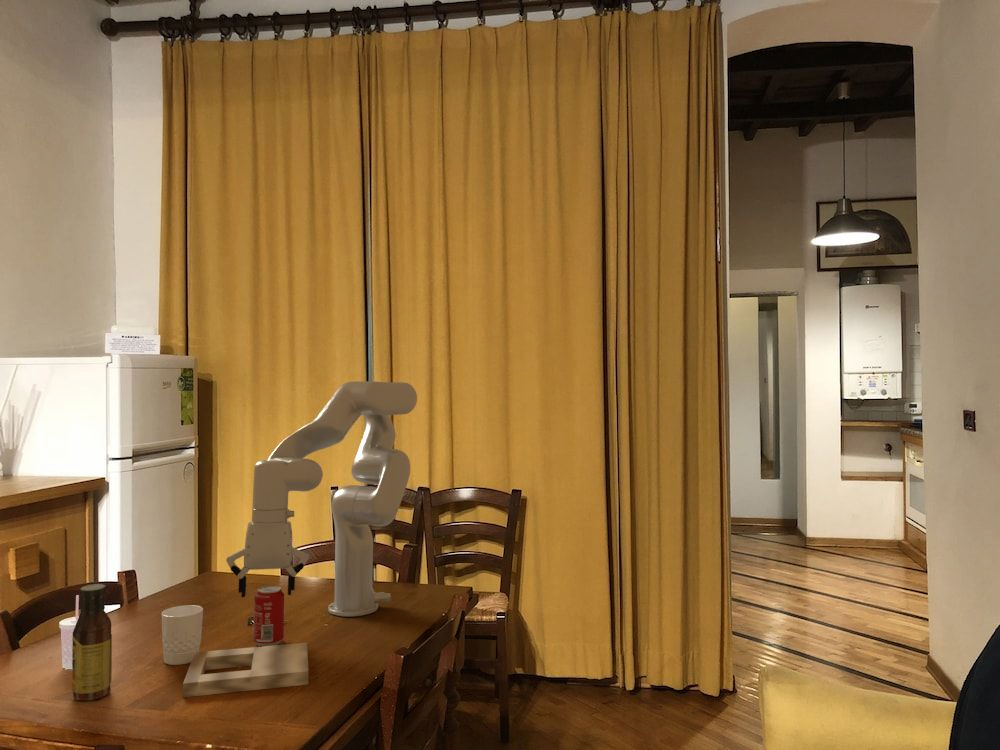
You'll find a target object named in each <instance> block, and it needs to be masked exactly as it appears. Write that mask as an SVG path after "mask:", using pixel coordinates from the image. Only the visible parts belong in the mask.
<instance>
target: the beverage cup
mask: <svg viewBox="0 0 1000 750" xmlns="http://www.w3.org/2000/svg"><path fill="white" fill-rule="evenodd" d="M79 601H80V594H77V595H75V616H73V617H68V618H65V619H62V620H60V621H59V623H58V624H59V625H58V626H59V629H60V636H61V659H62V660H61V663H62V664H61V666H62V669H63V668H65V669H64V670H67V669H72V649H73V648H72V647H73V640H72V637H73V631H74V628H75V625H76V623H77V620H78V618H79Z"/></svg>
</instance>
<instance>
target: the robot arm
mask: <svg viewBox="0 0 1000 750" xmlns="http://www.w3.org/2000/svg"><path fill="white" fill-rule="evenodd" d="M417 403H418V394H417V391H416V389H415V388H414V386H413V385H412V384H410V383H408V382H403V381H402V382H389V381H388V382H386V381H374V380H373V381H365V380H364V381H355V380H354V381H347V382H345V383H343V384H341V385H340V386H339V387H338V389H336V390H335V392H334V394H333V395H332V396H331V398H330V399H329V400H328V402H327V403H326V404H325V406H324V407H323V408H322V409H321V411H320V412H319V414H318V415H317V416H316V418H314V419H313V420H312V421H311V422H309V423H306V424H305V425H304V426H302V427H301V428H299V429H297V430H296V431H295V432H293V433H292V434H290V435H288V436H287V437H286V438H284V439H283V440H282V441H281V442H280V443H279V444H278V446H277V447H276V448H274V451H273V452H272V453H271V454H270V456H269V457H268V458H267V459H265V460H259V461H258V462H256V463H255V465H254V467H253V488H252V489H253V490H252V509H251V521H249V522H248V524H247V528H246V533H245V540H244V548H243V549H240V550H238V551H237V552H235V553H233V554H230V555H229V556H227V557H226V560H225V561H226V563H227V565H228V567H229V568H230V571H231V572H232V573H233V574H234V575H235V576H236V577H237V578H238V590H237V591H238V594H240V593H241V598H245V597H246V593H247V576H246V575H247V574H248V572H249V571H251V570H252V571H253V570H278V569H280V570H282V569H285V570H286V571H287V572H288V575H287V576H288V577H287V578H288V579H287V581H288V582H287V595H288V596H292V591H295V589H296V588H295V585H296V576H297V575H298V573H300V572H301V571H302V570H303V569H304V567H305V566H306V563H307V562H308V560H309V557H310V556H309V553H306V552H304V551H302V550H300V549H298V548H295V547H293V527H292V522H291V521H289V520H288V519H290V518H294V517H295V510H290V509H289V492H305V493H306V492H310V491H312V490H315V489H316V488H317V487H318V486H319V485H320V484H321V482H322V481H323V477H324V476H323V475H324V472H323V469H322V467H321V465H320V464H319V463H318V462H317V461H315V460H313V459H310V458H306V457H307V456H309V455H311V454H313V453H315V452H318V451H320V450H324V449H328V448H330V447H333V446H336V445H337V444H339V443H341V442H342V441H344V440H345V438H346V436H347V435H348V434H349V433H350V430H351V429H352V427H354V425H355V423H356V422H357V421H358V419H360V417H361V416H363V420H364V431H363V435H362V438H361V441H360V443H359V446H358V448H357V451H356V453H355V456H354V459H353V461H352V465H351V468H350V469H351V470H350V471H351V475H352V478H353V479H354V480H355V481H357V482H359V483H363V484H368V485H377V486H376V487H375V486H368V485H358V484H357V485H355V484H349V485H345V486H342V487H340V488H339V489H337V490H336V491H335V493H334V494H333V497H332V500H331V513H332V519H333V524H334V534H335V535H334V536H335V537H334V538H335V540H334V542H335V543H334V546H335V548H334V553H335V554H334V601H333V602H331V603H329V604H328V605H327V606H328V607H327V611H328V612H329V614H331V615H333V616H334V615H335V616H337V617H347V618H348V617H361V616H366V615H370V614H373V613H374V612H377V611H378V609H379V602H391V599H392V598H391V597H392V595H391V592H390V593H389V592H388V593H387V592H386V593H385V592H384V591H380V592H376V591H375V590H374V587H373V576H374V575H373V568H374V567H373V563H374V561H373V559H374V558H373V557H374V553H373V552H374V537H373V533H372V530H371V528H370V526H373V527H385V526H388V525H390V524H391V523H392V522H393V521H394V520H395V518H396V516H397V514H398V511H399V508H400V507H401V503H402V500H403V499H404V498H403V497H404V495H405V491H406V489H407V486H408V482H409V479H410V474H411V461H410V458H409V456H408V455H407V454H406V452H404V451H403V450H401V449H397V448H394V445H395V444H394V443H395V441H396V437H397V436H396V435H397V434H396V429H395V426H394V424H393V422H392V419H391V417H390V416H398V415H402V416H403V415H407V414H410V413H411V412H413V410H414V409H415V407H416V406H417ZM293 556H295V557H297V558H300V561H299V562H298V563H297V565H295V566H293V565H292V561H293ZM242 557H243V566H242V568H240V567H239V566H238V565H237V564H236V562H235V561H236V560H238V559H241V558H242Z"/></svg>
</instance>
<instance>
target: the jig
mask: <svg viewBox="0 0 1000 750" xmlns="http://www.w3.org/2000/svg"><path fill="white" fill-rule="evenodd" d="M308 654H309V653H308V642H300V643H299V642H296V643H287V644H286V643H285V644H278V645H274V646H262V647H260V646H254V647H253V646H252V647H242V648H230V649H229V648H228V649H217V650H207V651H199V652H195V653H194V656H193V659H192V661H191V662H190V663H189V666H188V670H187V672H186V675H185V678H184V680H183V682H182V698H191V697H200V696H210V695H218V694H219V695H220V694H228V693H239V692H247V691H249V692H250V691H257V690H258V691H259V690H267V689H277V688H288V687H297V686H306V685H308V686H309V655H308ZM243 667H244V668H245V667H251V669H247V670H244V669H243V670H236V671H234V670H233V671H224V672H217V673H216V672H215V673H206V671H209V670H219V669H230V668H231V669H232V668H243Z"/></svg>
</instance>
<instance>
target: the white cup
mask: <svg viewBox="0 0 1000 750" xmlns="http://www.w3.org/2000/svg"><path fill="white" fill-rule="evenodd" d="M203 615H204V608H203V607H202V606H200V605H194V604H193V605H191V604H189V605H188V604H186V605H179V606H178V605H177V606H173V607H169V608H166V609H164V610H163V611H161V639H162V641H161V643H162V649H163V651H162V652H163V662H164V663H165V665H171V666H178V665H179V666H181V665H186V664H191V661H192V659H193V656H194V653H195V652H200V651H201V650H200V648H201V641H202V631H203V617H204V616H203Z"/></svg>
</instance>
